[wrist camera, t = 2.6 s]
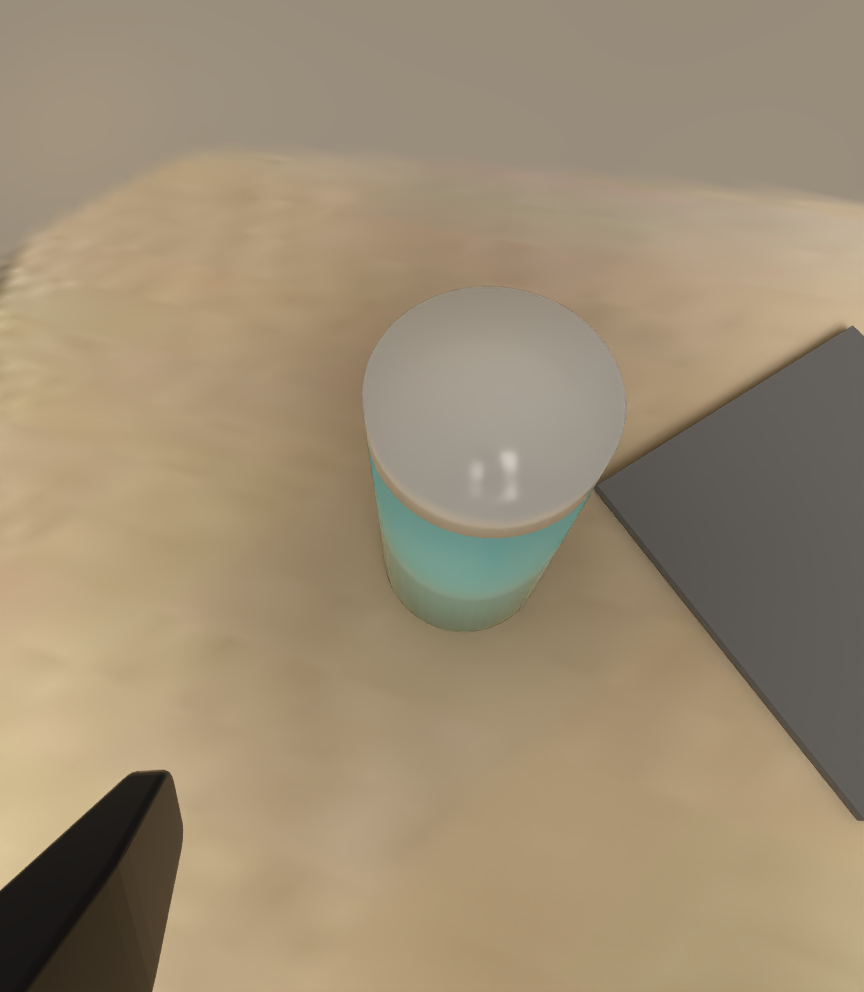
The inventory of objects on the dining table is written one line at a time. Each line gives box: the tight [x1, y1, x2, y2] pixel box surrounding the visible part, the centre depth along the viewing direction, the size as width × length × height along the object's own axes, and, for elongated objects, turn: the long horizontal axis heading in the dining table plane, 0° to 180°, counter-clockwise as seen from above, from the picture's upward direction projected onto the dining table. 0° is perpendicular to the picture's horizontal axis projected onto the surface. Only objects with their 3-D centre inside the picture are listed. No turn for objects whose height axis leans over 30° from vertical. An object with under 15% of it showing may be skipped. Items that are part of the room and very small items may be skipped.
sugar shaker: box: [362, 286, 626, 632], centre depth 18 cm, size 5×5×10 cm
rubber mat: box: [595, 326, 864, 821], centre depth 23 cm, size 12×12×1 cm
